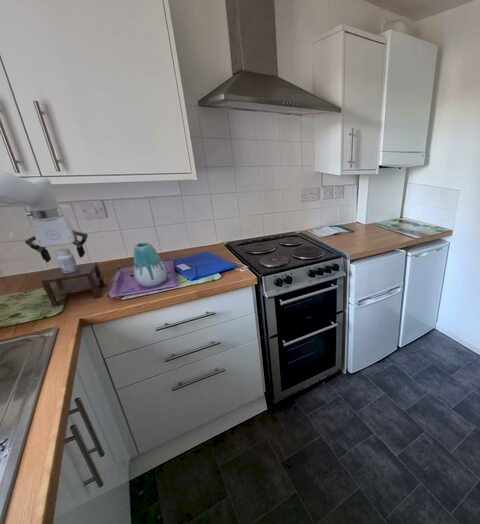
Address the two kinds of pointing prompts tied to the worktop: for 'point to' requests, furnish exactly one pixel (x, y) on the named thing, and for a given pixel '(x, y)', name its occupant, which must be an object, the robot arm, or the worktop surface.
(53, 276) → the shelf
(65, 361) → the worktop surface
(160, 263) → the vase
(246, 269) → the worktop surface
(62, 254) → the pill bottle
